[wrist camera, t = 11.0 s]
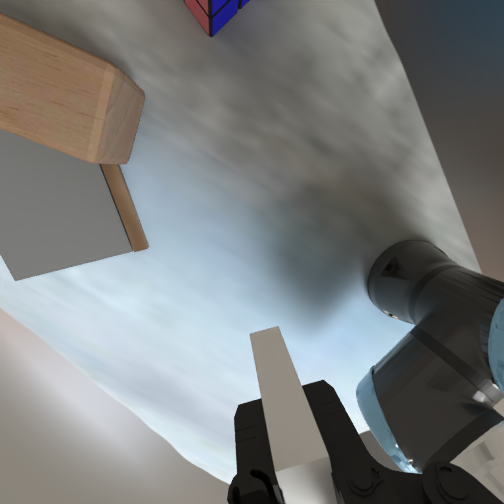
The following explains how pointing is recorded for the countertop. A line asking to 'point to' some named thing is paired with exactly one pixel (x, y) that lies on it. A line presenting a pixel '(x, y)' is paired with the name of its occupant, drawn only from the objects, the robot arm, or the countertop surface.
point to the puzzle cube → (214, 12)
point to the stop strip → (125, 206)
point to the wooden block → (65, 96)
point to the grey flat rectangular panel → (54, 210)
